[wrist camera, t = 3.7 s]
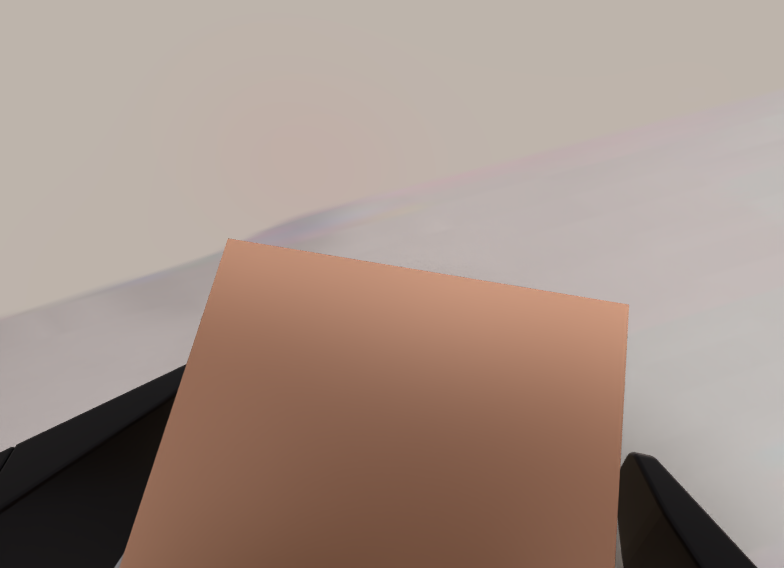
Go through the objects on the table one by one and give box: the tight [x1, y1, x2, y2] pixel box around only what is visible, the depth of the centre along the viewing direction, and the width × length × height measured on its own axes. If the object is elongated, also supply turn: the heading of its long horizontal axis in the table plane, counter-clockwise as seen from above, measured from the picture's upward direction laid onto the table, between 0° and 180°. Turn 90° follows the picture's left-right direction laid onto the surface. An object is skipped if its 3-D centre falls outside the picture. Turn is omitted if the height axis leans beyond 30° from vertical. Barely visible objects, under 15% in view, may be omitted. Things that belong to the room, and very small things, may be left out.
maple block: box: [119, 239, 629, 568], centre depth 10 cm, size 5×5×12 cm
